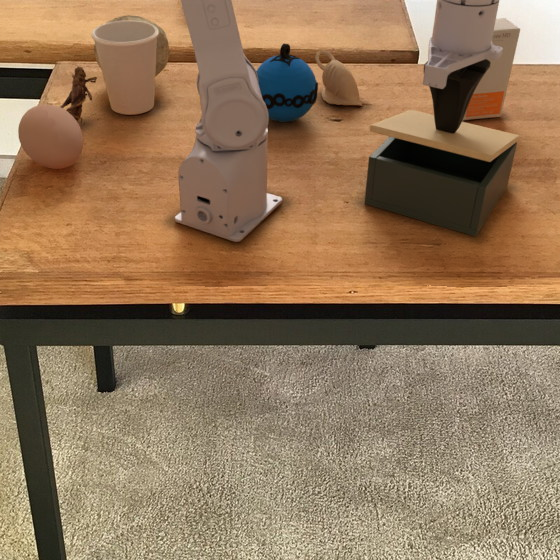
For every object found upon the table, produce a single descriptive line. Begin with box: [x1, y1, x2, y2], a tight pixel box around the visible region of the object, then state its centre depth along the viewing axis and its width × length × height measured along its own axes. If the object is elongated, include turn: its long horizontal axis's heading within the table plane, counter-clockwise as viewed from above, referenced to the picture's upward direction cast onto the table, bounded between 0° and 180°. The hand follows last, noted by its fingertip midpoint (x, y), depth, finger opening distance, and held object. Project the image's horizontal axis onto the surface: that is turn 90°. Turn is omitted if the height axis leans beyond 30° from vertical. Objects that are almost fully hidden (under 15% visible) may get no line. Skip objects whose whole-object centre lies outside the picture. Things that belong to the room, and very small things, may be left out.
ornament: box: [256, 43, 319, 123], centre depth 98 cm, size 9×9×10 cm
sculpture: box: [93, 14, 170, 78], centre depth 105 cm, size 10×4×10 cm, turn 95°
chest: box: [364, 136, 518, 238], centre depth 84 cm, size 12×13×6 cm
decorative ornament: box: [314, 49, 363, 107], centre depth 105 cm, size 4×8×5 cm, turn 23°
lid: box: [369, 109, 520, 162], centre depth 81 cm, size 12×13×1 cm
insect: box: [59, 64, 98, 126], centre depth 97 cm, size 4×8×5 cm
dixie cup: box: [90, 20, 159, 116], centre depth 100 cm, size 8×8×10 cm
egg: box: [17, 103, 84, 170], centre depth 88 cm, size 7×7×10 cm
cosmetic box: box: [462, 17, 521, 122], centre depth 100 cm, size 6×4×12 cm
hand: (447, 129), depth 81 cm, fingers closed
